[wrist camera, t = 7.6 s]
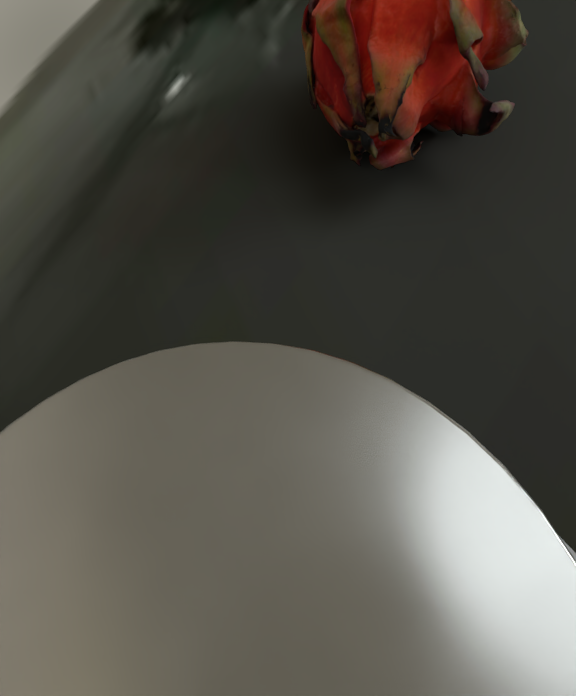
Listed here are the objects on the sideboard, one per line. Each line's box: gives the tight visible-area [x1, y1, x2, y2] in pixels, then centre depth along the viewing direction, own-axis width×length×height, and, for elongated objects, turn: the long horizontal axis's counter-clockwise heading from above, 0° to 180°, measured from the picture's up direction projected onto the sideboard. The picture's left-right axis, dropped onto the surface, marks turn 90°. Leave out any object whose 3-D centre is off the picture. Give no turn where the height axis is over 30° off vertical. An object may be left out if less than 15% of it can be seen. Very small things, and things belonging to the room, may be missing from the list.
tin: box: [0, 341, 576, 696], centre depth 8 cm, size 6×6×11 cm
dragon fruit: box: [301, 0, 528, 170], centre depth 18 cm, size 8×8×12 cm
